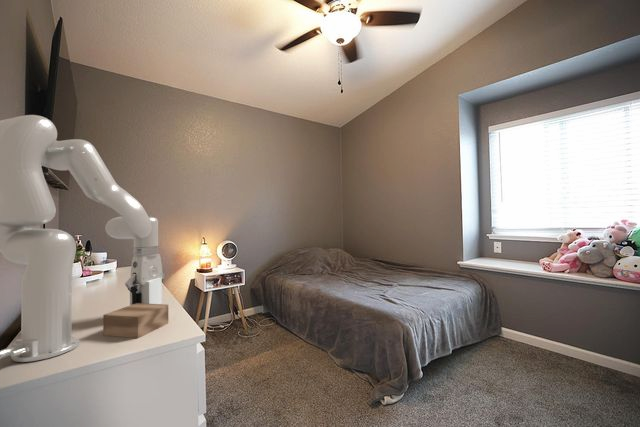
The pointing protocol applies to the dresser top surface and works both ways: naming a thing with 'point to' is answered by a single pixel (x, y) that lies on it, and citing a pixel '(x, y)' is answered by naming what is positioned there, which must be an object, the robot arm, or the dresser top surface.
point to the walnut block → (135, 320)
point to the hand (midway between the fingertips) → (146, 300)
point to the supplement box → (150, 292)
